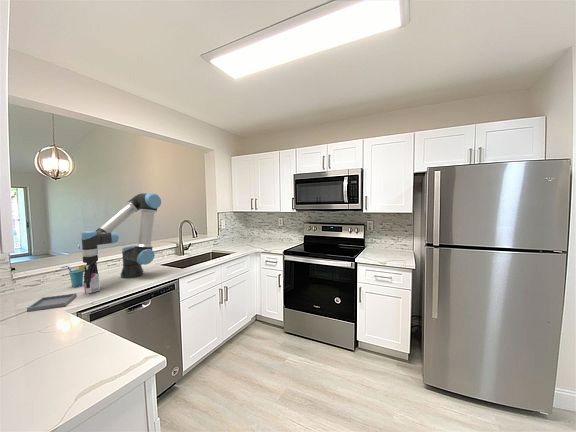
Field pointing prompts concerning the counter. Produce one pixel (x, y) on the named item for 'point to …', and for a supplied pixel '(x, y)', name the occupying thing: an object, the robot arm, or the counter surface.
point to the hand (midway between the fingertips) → (92, 289)
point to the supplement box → (94, 283)
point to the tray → (52, 302)
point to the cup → (76, 276)
